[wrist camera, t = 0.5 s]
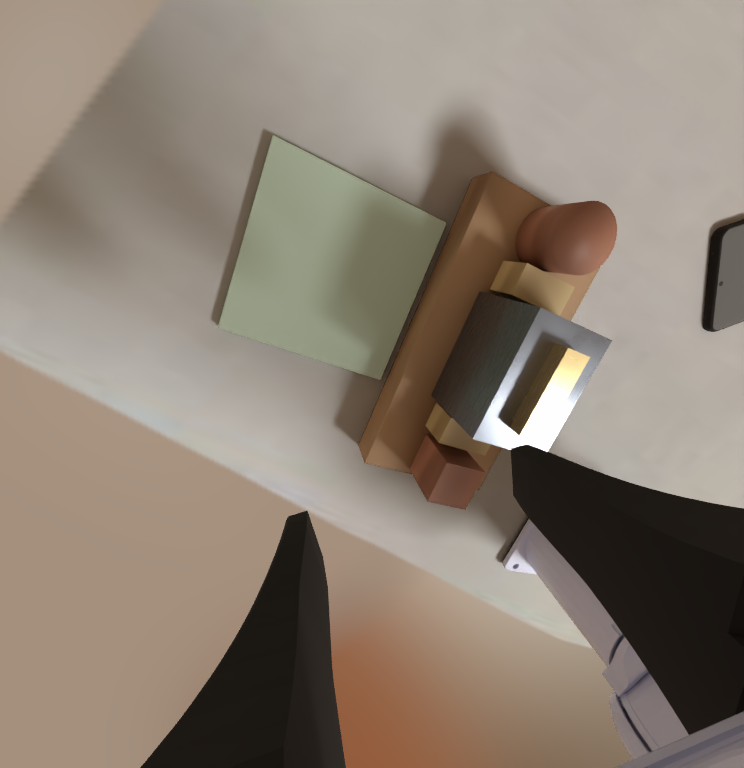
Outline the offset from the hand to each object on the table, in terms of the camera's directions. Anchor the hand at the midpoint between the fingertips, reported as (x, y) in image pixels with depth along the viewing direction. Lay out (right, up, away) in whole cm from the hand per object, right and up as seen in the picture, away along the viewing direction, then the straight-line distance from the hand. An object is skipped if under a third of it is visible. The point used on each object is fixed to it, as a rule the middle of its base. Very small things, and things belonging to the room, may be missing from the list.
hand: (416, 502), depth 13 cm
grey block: (+5, +5, +8) cm, 11 cm away
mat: (-3, +10, +7) cm, 12 cm away
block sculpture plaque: (+4, +6, +10) cm, 12 cm away
